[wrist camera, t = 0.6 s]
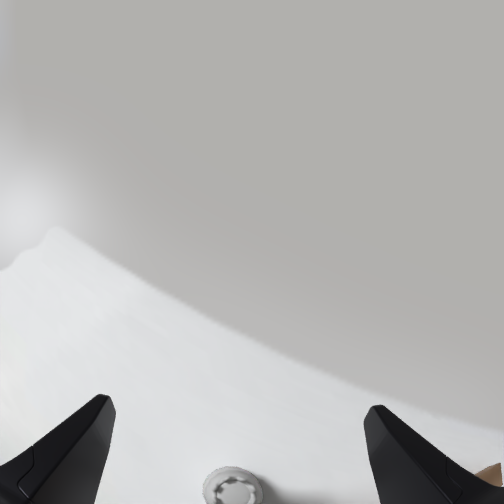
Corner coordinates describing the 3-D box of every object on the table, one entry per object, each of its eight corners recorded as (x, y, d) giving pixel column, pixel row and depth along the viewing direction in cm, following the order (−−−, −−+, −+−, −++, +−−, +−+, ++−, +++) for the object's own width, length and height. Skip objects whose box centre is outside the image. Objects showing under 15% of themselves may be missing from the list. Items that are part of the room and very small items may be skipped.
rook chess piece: (198, 469, 18) (186, 464, 12) (253, 462, 19) (266, 453, 13) (208, 517, 15) (200, 533, 9) (265, 509, 16) (283, 521, 10)
